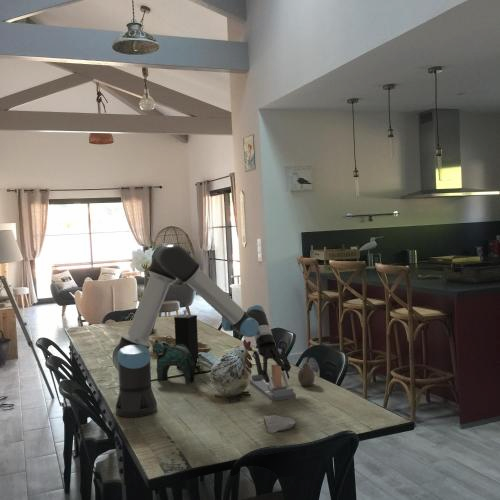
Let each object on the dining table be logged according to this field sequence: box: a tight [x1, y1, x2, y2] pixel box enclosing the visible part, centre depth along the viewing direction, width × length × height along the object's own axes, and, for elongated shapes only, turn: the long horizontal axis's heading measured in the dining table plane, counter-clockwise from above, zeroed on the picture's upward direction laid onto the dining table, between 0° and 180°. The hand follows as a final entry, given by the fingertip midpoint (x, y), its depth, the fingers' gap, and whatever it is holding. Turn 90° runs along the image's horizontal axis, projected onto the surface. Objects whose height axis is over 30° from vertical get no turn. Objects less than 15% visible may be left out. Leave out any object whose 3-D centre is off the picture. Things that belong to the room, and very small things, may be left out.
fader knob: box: [268, 363, 286, 392], centre depth 218 cm, size 5×6×10 cm
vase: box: [297, 363, 316, 387], centre depth 229 cm, size 7×7×9 cm
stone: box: [263, 414, 296, 434], centre depth 184 cm, size 10×12×4 cm
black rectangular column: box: [173, 309, 199, 370], centre depth 264 cm, size 8×8×28 cm
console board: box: [249, 373, 297, 402], centre depth 224 cm, size 26×10×4 cm, turn 19°
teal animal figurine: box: [152, 335, 196, 384], centre depth 242 cm, size 20×6×20 cm, turn 62°
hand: (280, 387), depth 215 cm, fingers open, 6 cm apart
